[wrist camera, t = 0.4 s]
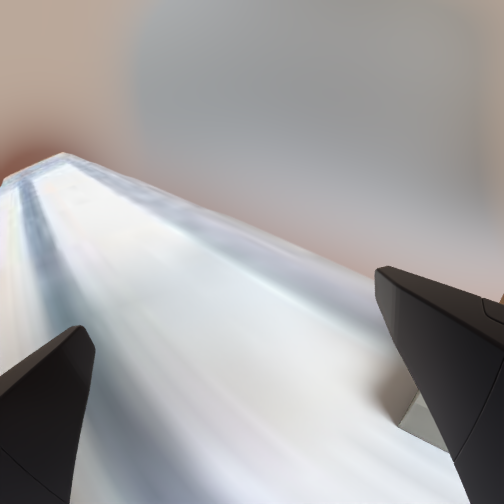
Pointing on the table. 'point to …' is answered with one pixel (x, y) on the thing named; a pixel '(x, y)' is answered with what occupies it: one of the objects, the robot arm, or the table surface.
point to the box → (422, 423)
